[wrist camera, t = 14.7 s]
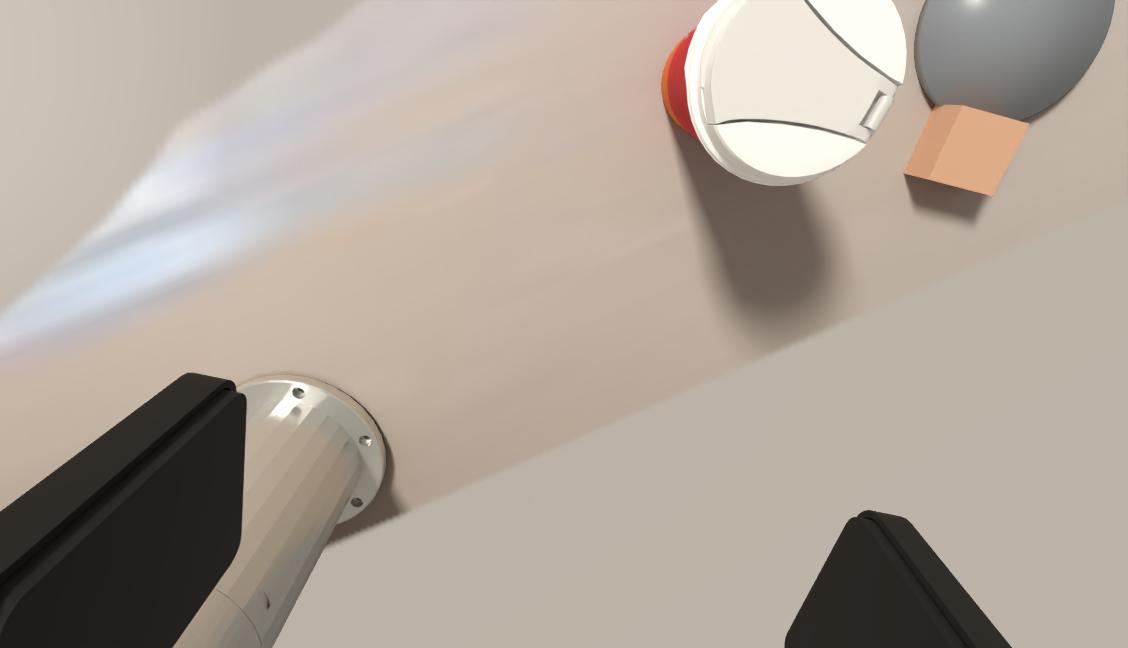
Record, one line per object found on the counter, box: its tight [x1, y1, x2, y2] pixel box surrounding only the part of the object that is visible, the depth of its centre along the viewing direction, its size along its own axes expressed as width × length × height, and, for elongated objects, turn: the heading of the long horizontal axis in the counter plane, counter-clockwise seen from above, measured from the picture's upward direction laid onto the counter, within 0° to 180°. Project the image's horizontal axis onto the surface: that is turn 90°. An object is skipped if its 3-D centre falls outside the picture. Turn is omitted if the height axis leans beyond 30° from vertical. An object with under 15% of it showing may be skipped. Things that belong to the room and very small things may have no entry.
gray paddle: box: [904, 0, 1115, 196], centre depth 31 cm, size 14×10×2 cm
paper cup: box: [661, 0, 906, 186], centre depth 26 cm, size 8×8×14 cm
